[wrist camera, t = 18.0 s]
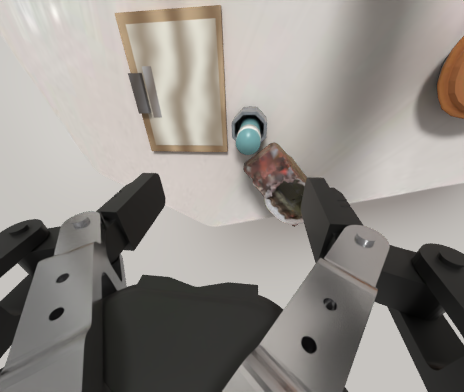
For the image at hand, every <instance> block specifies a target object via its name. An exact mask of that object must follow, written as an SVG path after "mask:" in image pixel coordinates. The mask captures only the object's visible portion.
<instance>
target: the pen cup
mask: <svg viewBox="0 0 464 392" xmlns="http://www.w3.org/2000/svg"><path fill="white" fill-rule="evenodd" d="M248 116H253V117H256V118H257V119H258V120H259V122H260V134H261V142H262V141H263V140H264V139H265V138H266V131H267V119H266V116H265V115H264V114H263V113H262V111H261V110H259V108H258V107H243V108H242V110H241V111H240V112H239V113H238V114H237V115H236V116H235V117H234V119H233V121H232V138H233V139H234V140H235V141H236V138H237V135H238V132H239V129H240V126H241V123H242V121H243V120H244V119H245V118H246V117H248ZM261 142H260V143H261Z"/></svg>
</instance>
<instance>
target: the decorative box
mask: <svg viewBox="0 0 464 392" xmlns="http://www.w3.org/2000/svg"><path fill="white" fill-rule="evenodd" d="M244 171H245V172H246V174H247V175H248V176H249V177H251V178H252V179H253V185H254V186H255V187H256V188H257V189H258V190H259V191H260V192H261V193H262V195H263V196H264V197H265V198H264V201H265V205H266V207H267V208H268V210H269V211H270V212H271V213H272V214H273V215H274V216H275V217H276V218H277V219H279V220H280V221H281V222H282V221H283V223H287V224H291V225H292V226H295V225H298V224H299V223H304V221H303V218H302V214H301V202H302V196H301V195H303V192H304V188H305V183H306V179H307V177H306V176H305V174H304V173H303V172H302V171H301V169H300V168H299V166H298V165H297V164H296V162H295V161H294V160H293V159H292V157H290V156H289V155H287V154H286V153H285V152H284V150H283V149H282V148H281V147H280V146H279V145H278V144H277V143H271V144H269V145H268V146H266V147H265V148H264V149H262V150H261V151H260V152H258V153H257V154H256V155H255V156H253V157H252V158H251V159H249V160H248V161H246V162H245V163H244Z"/></svg>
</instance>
